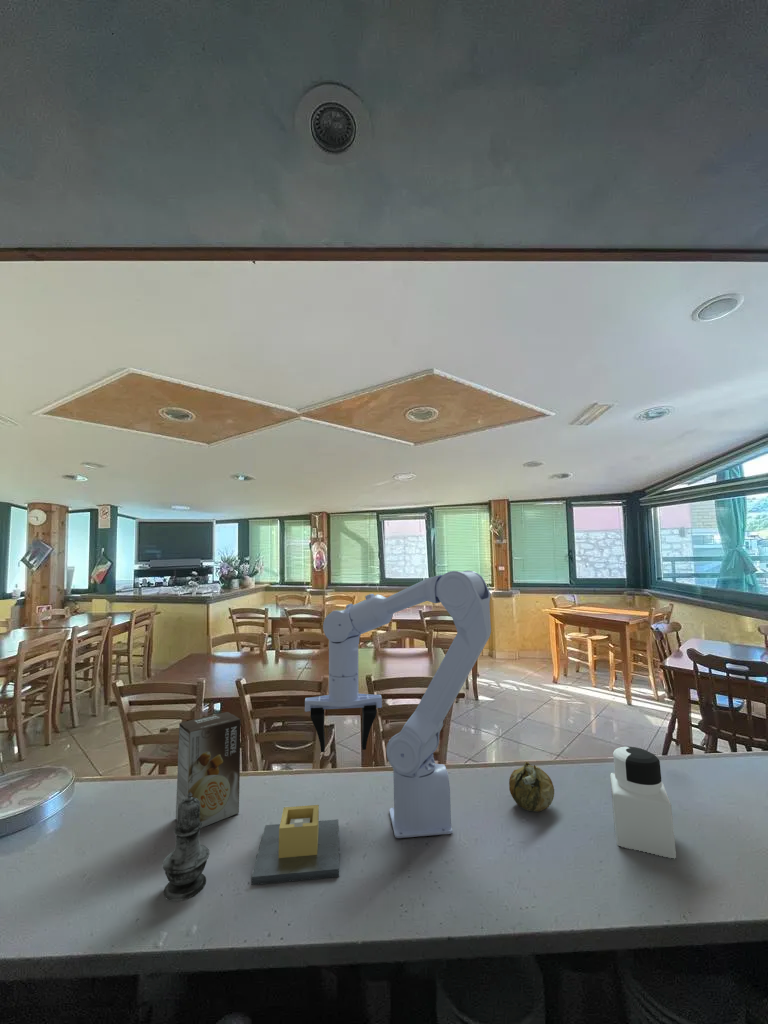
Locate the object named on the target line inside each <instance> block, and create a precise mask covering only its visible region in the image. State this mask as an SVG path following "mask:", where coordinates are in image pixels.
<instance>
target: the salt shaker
mask: <svg viewBox="0 0 768 1024" xmlns="http://www.w3.org/2000/svg"><path fill="white" fill-rule="evenodd" d="M187 796H188V798H186V799H185V800H183V801H182V802H181V803H180V804H179V807H178V820H176V821H177V822H176V823H177V824H176V826H175V828H174V829H173V833H174V835H175V847H174V850H173V851H172V852H170V853H169V854H168V855H167V856H166V857H165V858H164V860H163V861H162V862H163V863H162V868H163V871H164V873H165V876H166V879H167V881H168V883H167V884H166V885H165V886H164V890H163V896H164V898H165V899H166V898H167V899H166V900H167V901H170V902H183V901H185V900H188V899H191V898H193V897H196V895H198V894H199V893H200V892H202V891H203V889H204V888H205V886H206V883H207V877H206V875H205V874H203V872H204V870H205V869H206V868H205V867H206V865H207V862H208V859H209V857H210V855H211V854H210V853H211V852H210V849H209V847H208V846H206V845H204V844H201V843H200V831H201V829H203V827H202V823H201V822H200V801H199V800H198V799H197V798H194V797H191V796H192V793H191V792H189V793H188V795H187Z"/></svg>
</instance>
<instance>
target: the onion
mask: <svg viewBox="0 0 768 1024" xmlns="http://www.w3.org/2000/svg"><path fill="white" fill-rule="evenodd" d="M508 781H509V783H508V786H509V792H510V793H509V794H510V796H511V797H512V799H513V801H514V802H515V803H516V805H518V806H519V808H521V809H523V810H525V811H529V812H537V813H539V812H542V811H544V810H546V809H548V808H549V807H550V806H551V804H552V803H553V800H554V798H555V787H554V784H553V781H552V779H551V776H549V775H548V773H546V772H545V771H544V770H543V769H542V768H540V767H539V766H537V765H535V764H534V765H532V764H531V763H530V762H529V761H525V762H524V764H523V766H521V767H519V768H517V769H513V771H512V772H511V774H510V776H509V780H508Z"/></svg>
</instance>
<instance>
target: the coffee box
mask: <svg viewBox="0 0 768 1024" xmlns="http://www.w3.org/2000/svg"><path fill="white" fill-rule="evenodd" d="M241 720H242V719H241V718H240V717H238V716H236V715H235V714H233V713H230V712H229V711H225V712H221V713H216V714H212V715H207V716H202V717H199V718H194V719H190V720H185V721H181V722H179V723H178V724H179V727H178V730H179V731H178V749H177V750H178V751H177V752H178V753H177V778H176V779H177V781H176V797H175V798H176V799H175V800H176V803H175V820H176V819H177V820H178V807H179V804H180V803H181V802H182V801H183V800H185V799H186V798H188V796H187V795H188V793H189V792H191V793H192V796H191V797H194V798H197V799H198V800H199V801H200V822H201V823H202V828H205V827H207V826H209V825H212V824H215V823H217V822H220V821H223V820H225V819H228V818H230V817H232V816H234V815H237V814H239V813H240V776H241V775H240V774H241V773H240V772H241V770H240V769H241V768H240V767H241V732H242V731H241V727H242V725H241V722H242V721H241ZM177 820H176V821H177Z"/></svg>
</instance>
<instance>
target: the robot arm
mask: <svg viewBox="0 0 768 1024" xmlns="http://www.w3.org/2000/svg"><path fill="white" fill-rule="evenodd" d="M491 596H492V595H491V592H490V590H489V588H488V585H487V583H486V581H485V579H484V578H483V576H482V575H481V574H480V573H478V572H476V571H473V570H463V571H458V570H451V571H447V572H445V573H444V574H438V575H434V576H432V577H428V578H425V579H422V580H421V581H419V582H417V583H415V584H413V585H409V586H407V587H406V588H404V589H402V590H400V591H398V592H396V593H394V594H391V595H390V596H387V597H386V596H384V595H382V594H378V593H377V594H374V593H369V594H367V595H365V596H364V598H365V599H364V600H362V601H359V602H358V603H357V602H356V603H354V604H353V603H349V604H346V605H345V609H342V610H332V611H331V612H330V613H329V614H327V615H326V616H325V618H324V620H323V622H322V623H323V625H322V629H323V633H324V636H325V637H326V639H328V694H327V695H319V696H312V697H305V699H304V712H305V713H306V712H310V720H311V722H312V724H313V726H314V729H315V732H316V733H317V736H318V742H319V745H320V746H319V747H320V752H321V753H325V752H326V737H325V710H341V709H359V708H361V712H362V713H361V714H362V716H361V717H362V722H361V723H362V728H361V749H362V750H363V751H365V750H367V743H368V740H369V735H370V731H371V728H372V726H373V724H374V722H375V720H376V716H377V713H378V711H377V709H381V708H382V707H383V700H382V699H383V697H382V695H381V694H372V693H371V694H369V693H367V694H366V693H360V692H359V685H360V684H359V682H360V679H359V645H360V637H361V635H363V634H365V633H368V632H371V631H373V630H375V629H377V628H380V627H383V626H385V625H388V624H389V623H391V621H392V618H393V615H394V614H396V613H398V612H399V613H400V612H401V611H404V610H406V609H409V608H411V607H414V606H418V605H420V604H422V603H425V602H430V603H433V604H439V603H441V605H442V606H443V607H444V609H445V610H446V612H447V613H448V614H449V615H450V617H451V618H452V621H453V624H454V626H455V629H456V632H457V633H456V635H455V637H454V638H453V640H452V642H451V644H450V646H449V648H448V650H447V651H446V653H445V655H444V657H443V658H442V660H441V663H440V664H439V666H438V668H437V669H436V672H435V674H433V675H434V676H433V677H432V679H431V681H430V683H429V684H428V686H427V689H426V690H425V692H424V694H423V696H422V697H421V699H420V701H419V703H418V705H417V707H416V708H415V710H414V712H413V713H412V714H411V716H410V717H409V718H408V719H407V721H406V722H405V723H404V725H403V727H402V729H401V730H400V731H399V732H398V733H395V734H394V735H393V736H391V737H390V739H389V740H388V742H387V745H386V758H387V761H388V763H389V765H390V766H391V768H392V769H393V774H392V775H393V807H390V808H389V810H388V812H389V817H390V821H391V824H392V825H391V826H392V829H393V835H394V837H395V838H396V839H402V838H403V839H404V838H414V837H427V836H429V837H430V836H438V835H439V836H440V835H451V834H452V833H453V828H452V812H451V811H452V808H451V807H452V806H451V805H452V804H451V786H450V778H449V773H448V770H447V767H446V765H445V764H443V763H436V762H435V758H434V753H435V752H436V750H437V749H438V746H439V745H440V732H441V730H442V728H443V726H444V720H445V718H446V716H447V715H448V713H449V711H450V709H451V707H453V704H454V702H455V701H456V699H457V696H458V695H459V693H460V691H461V690H462V689H463V688H462V687H463V686H464V684H465V683H466V680H467V679H468V677H469V675H470V674H471V672H472V670H473V668H474V666H475V665H476V662H477V660H478V659H479V657H480V655H481V653H482V652H483V650H484V648H485V646H486V644H487V642H488V641H489V639H490V637H491V635H492V634H491V633H492V624H491V610H490V609H491V607H490V606H491V605H490V602H491Z"/></svg>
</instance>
